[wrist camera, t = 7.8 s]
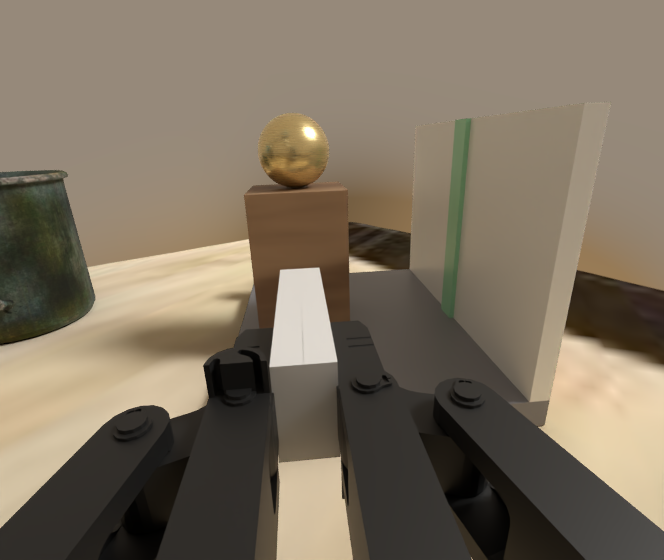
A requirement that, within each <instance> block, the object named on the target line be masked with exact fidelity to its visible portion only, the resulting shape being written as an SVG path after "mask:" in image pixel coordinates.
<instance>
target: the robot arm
mask: <svg viewBox="0 0 664 560" xmlns="http://www.w3.org/2000/svg"><path fill="white" fill-rule="evenodd" d="M203 367H204V373H205V378H206V384H207V390H208V395H209V399H208V402H207V405H206V406H205V407H203V408H201V409H199V410H197V411H194V412H191V413H188V414H185V415H182V416H178V417H175V418H172V419H170V417H169V413H168V412H167V411H166V410H165V409H164V408H162V407H158V406H154V405H150V406H139V407H135V408H132V409H129V410H126V411H124V412H122V413H120V414H118V415H116V416H114V417H113V418H112V419H110V420H109V421H108V422H107V423H105V424H104V425H103V426H102V427H101V428H100V429H99V430H98V431H97V432H96V433H95V434H94V435H93V436H92V437H91V438H90V439H89V440H88V441H87V442H86V443H85V444H84V445H83V446H82V447H81V448H80V449H79V450H78V451H77V452H76V453H75V454H74V455H73V456H72V457H71V458H70V459H69V460H68V461H67V462H66V463H65V464H64V465H63V466H62V467H61V468H60V469H59V470H58V471H57V472H56V473H55V474H54V475H53V476H52V477H51V478H50V479H49V480H48V481H47V482H46V483H45V484H44V485H43V486H42V487H41V488H40V489H39V490H38V491H37V492H36V493H35V494H34V495H33V496H32V497H31V498H30V499H29V500H28V501H27V502H26V503H25V504H24V505H23V506H22V507H21V508H20V509H19V510H18V511H17V512H16V513H15V514H14V515H13V516H12V517H11V518H10V519H9V520H8V521H7V522H6V523H5V524H4V525H3V526H2V527H1V528H0V560H276V555H277V531H278V507H279V482H280V481H279V472H278V455H279V463H280V462H290V461H300V460H310V459H321V458H331V457H340V453H341V471H342V499H345V503H346V511H347V518H348V525H349V533H350V540H351V547H352V555H353V560H472V559H473V560H664V531H663V530H661V529H660V528H659V527H658V526H657V525H655V524H654V523H653V522H652V521H650V520H649V519H648V518H647V517H646V516H644V515H643V514H642V513H641V512H640V511H638V510H637V509H636V508H635V507H634V506H632V505H631V504H630V503H629V502H628V501H626V500H625V499H624V498H623V497H622V496H620V495H619V494H618V493H617V492H615V491H614V490H613V489H612V488H611V487H609V486H608V485H607V484H606V483H605V482H603V481H602V480H601V479H600V478H599V477H597V476H596V475H595V474H594V473H593V472H591V471H590V470H589V469H588V468H587V467H585V466H584V465H583V464H582V463H580V462H579V461H578V460H577V459H576V458H574V457H573V456H572V455H571V454H570V453H568V452H567V451H566V450H565V449H564V448H562V447H561V446H560V445H559V444H558V443H556V442H555V441H554V440H553V439H552V438H550V437H549V436H548V435H547V434H546V433H544V432H543V431H542V430H541V429H539V428H538V427H537V426H536V425H535V424H533V423H532V422H531V421H530V420H529V419H527V418H526V417H525V416H524V415H523V414H521V413H520V412H519V411H518V410H517V409H515V408H514V407H513V406H512V405H511V404H509V403H508V402H507V401H506V400H504V399H503V398H502V397H501V396H500V395H498V394H497V393H496V392H495V391H494V390H492V389H491V388H489V387H488V386H486V385H484V384H483V383H480V382H477V381H474V380H471V379H464V378H452V379H447V380H445V381H442V382H440V383H439V384H438V385H437V387H436V388H435V394H428V393H420V392H414V391H410V390H406V389H404V388H401V387H399V385H398V383H397V381H396V380H395V378H394V377H393V376H392V375H391V374H389V373H387V372H386V371H384V368H383V366H382V363H381V360H380V358H379V355H378V353H377V350H376V348H375V346H374V342H373V340H372V338H371V335H370V332H369V330H368V327H366V326H365V325H364V324H362V323H361V322H360V321H358V320H357V321H343V322H330V320H329V315H328V310H327V305H326V300H325V294H324V289H323V284H322V279H321V274H320V269H319V268H303V269H286V270H280V276H279V285H278V294H277V303H276V312H275V321H274V328H260V329H246V330H245V331H244V332H242V333H241V334H240V335H239V336H238V337H237V338H236V341H235V345H234V348H230V349H226V350H224V351H221V352H218V353H216V354H215V355H213V356H212V357H210V358H209V359H208V360H207V361H206V362H205V364H204V365H203ZM471 557H472V559H471Z"/></svg>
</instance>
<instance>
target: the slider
mask: <svg viewBox="0 0 664 560" xmlns="http://www.w3.org/2000/svg"><path fill="white" fill-rule="evenodd" d="M258 156H259V160H260V163H261V166H262V168H263V169H264V171H265V172H266V174H267V175H268V176H269V177H270V178H271V179H272V180H273V181H275V182H276V183H278V185H256V186H252V188H250V190H248V192H247V193H246V194H245V195H244V199H245V206H246V207H245V208H246V216H247V224H248V233H249V243H250V251H251V260H252V269H253V277H254V286H255V295H256V304H257V312H258V321H259V329H260V328H274V321H275V312H276V303H277V294H278V285H279V276H280V270H286V269H303V268H319V269H320V274H321V279H322V284H323V289H324V294H325V300H326V305H327V310H328V315H329V320H330V322H343V321H350V291H349V238H348V190H347V189H346V188H344V187H343V186H342V185H341V184H340V183H339V182H324V183H313V182H314V181H315V180H317V179H318V178H319V177H320V176H321V175H322V173H323V172H324V170H325V168H326V165H327V163H328V158H329V145H328V141H327V138H326V135H325V133H324V131H323V130H322V128H321V127H320V126H319V125H318V124H317V123H316V122H315V121H314V120H313V119H311V118H309V117H307V116H305V115H302V114H298V113H286V114H282V115H280V116H277V117H276V118H274V119H272V120H271V121H270V122H269V123H268V124H267V125H266V126H265V128H264V129H263V131H262V133H261V135H260V138H259V142H258Z"/></svg>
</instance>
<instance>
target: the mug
mask: <svg viewBox="0 0 664 560" xmlns="http://www.w3.org/2000/svg"><path fill="white" fill-rule="evenodd" d="M67 176H68V175H67V173H66V172H64V171H59V170H58V171H57V170H48V171H47V170H45V171H17V172H0V344H2V343H8V342H14V341H18V340H23V339H27V338H31V337H34V336H38V335H41V334H44V333H47V332H50V331H53V330H56V329H58V328H61V327H63V326H65V325H68V324H70V323H72V322H74V321H75V320H77V319H79V318H80V317H82V316H84V315H85V314H86V313H87V312H88V311H89V310H90V309H91V308H92V306H93V303H94V301H95V294H94V290H93V287H92V283H91V279H90V276H89V272H88V269H87V265H86V261H85V258H84V255H83V251H82V247H81V244H80V240H79V236H78V233H77V229H76V225H75V222H74V218H73V215H72V211H71V208H70V204H69V200H68V197H67V193H66V190H65V186H64V182H63V178H65V177H67Z"/></svg>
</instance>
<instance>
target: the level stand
mask: <svg viewBox="0 0 664 560" xmlns="http://www.w3.org/2000/svg"><path fill="white" fill-rule="evenodd" d="M610 105H611V102H601V103H600V102H599V103H581V104H573V105H566V106H559V107H552V108H544V109H537V110H529V111H522V112H515V113H507V114H500V115H493V116H485V117H478V118H471V119H460V120H455V121H449V122H442V123H434V124H427V125H421V126H416V129H415V155H414V179H413V181H414V182H413V203H412V227H411V251H410V269H407V270H391V271H375V272H359V273H349V291H350V321H357V320H358V321H360V322H361V323H362V324H364V325H365V326H366V327H368V330H369V332H370V335H371V338H372V340H373V342H374V346H375V348H376V350H377V353H378V355H379V358H380V360H381V363H382V366H383V368H384V371H386V372H387V373H389V374H391V375H392V376H393V377H394V378H395V380H396V381H397V383H398V385H399V387H401V388H404V389H406V390H410V391H414V392H420V393H428V394H435V388H436V387H437V385H438V384H439V383H440V382H442V381H445V380H447V379H452V378H464V379H471V380H474V381H477V382H480V383H483V384H484V385H486V386H488V387H489V388H491V389H492V390H494V391H495V392H496V393H497V394H498V395H500V396H501V397H502V398H503V399H504V400H506V401H507V402H508V403H509V404H511V405H512V406H513V407H514V408H515V409H517V410H518V411H519V412H520V413H521V414H523V415H524V416H525V417H526V418H527V419H529V420H530V421H531V422H532V423H533V424H535V425H536V426H542V425H545V420H546V415H547V410H548V405H549V400H550V395H551V391H552V386H553V381H554V376H555V371H556V366H557V362H558V357H559V352H560V347H561V342H562V337H563V332H564V328H565V323H566V318H567V313H568V308H569V303H570V299H571V294H572V289H573V284H574V279H575V274H576V270H577V264H578V260H579V254H580V250H581V245H582V240H583V236H584V231H585V226H586V221H587V216H588V211H589V206H590V202H591V197H592V192H593V187H594V182H595V177H596V173H597V168H598V163H599V158H600V153H601V148H602V143H603V139H604V134H605V129H606V124H607V119H608V114H609V110H610ZM246 329H259V321H258V312H257V304H256V295H255V286H254V285H253V288H252V292H251V295H250V298H249V302H248V305H247V309H246V312H245V315H244V319H243V322H242V326H241V329H240V332H239V335H240V334H241V333H242V332H244V331H245V330H246Z"/></svg>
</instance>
